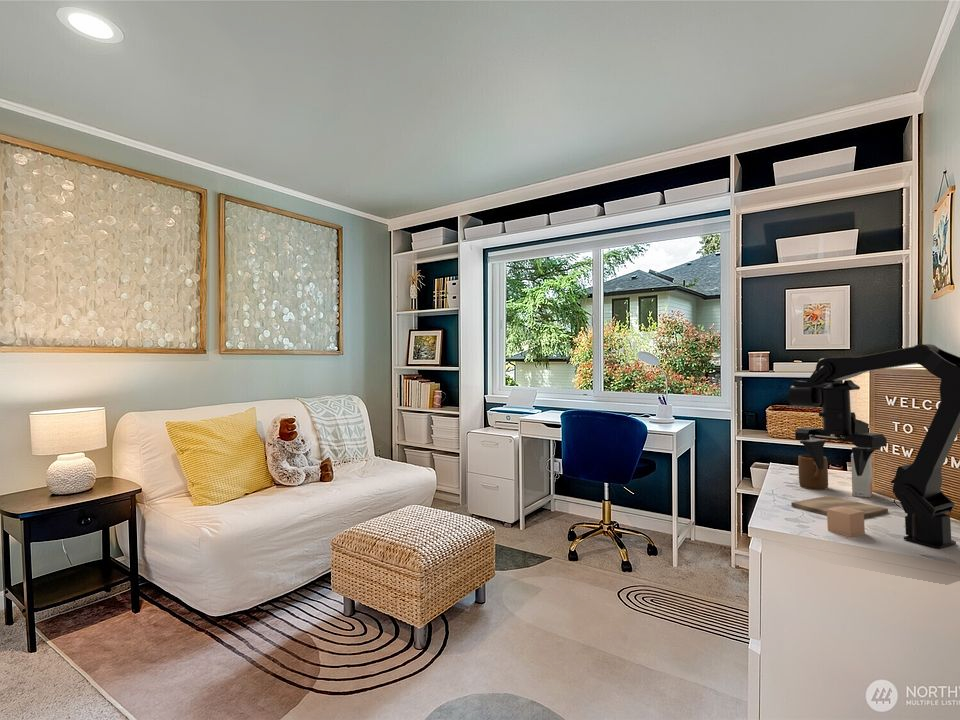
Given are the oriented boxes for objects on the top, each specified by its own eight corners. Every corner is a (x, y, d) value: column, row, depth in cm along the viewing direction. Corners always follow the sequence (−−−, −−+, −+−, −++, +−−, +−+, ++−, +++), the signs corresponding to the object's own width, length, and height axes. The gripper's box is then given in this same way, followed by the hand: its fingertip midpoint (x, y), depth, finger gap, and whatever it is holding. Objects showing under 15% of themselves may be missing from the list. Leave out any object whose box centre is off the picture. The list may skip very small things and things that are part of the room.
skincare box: (870, 498, 143) (869, 455, 143) (852, 496, 146) (850, 454, 146) (873, 493, 147) (871, 452, 148) (855, 491, 150) (853, 451, 150)
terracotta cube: (864, 533, 115) (863, 511, 115) (850, 537, 113) (849, 514, 113) (841, 527, 120) (841, 506, 120) (827, 530, 118) (826, 509, 118)
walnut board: (888, 512, 129) (887, 508, 129) (849, 521, 124) (849, 516, 124) (828, 499, 143) (828, 495, 143) (791, 506, 138) (791, 502, 138)
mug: (836, 494, 148) (835, 461, 149) (806, 492, 151) (805, 461, 151) (824, 484, 160) (823, 454, 160) (796, 483, 162) (795, 454, 162)
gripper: (900, 408, 119) (904, 475, 118) (821, 404, 136) (824, 463, 136) (868, 411, 115) (872, 481, 114) (791, 407, 132) (795, 467, 132)
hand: (839, 472), depth 124 cm, fingers open, 9 cm apart
